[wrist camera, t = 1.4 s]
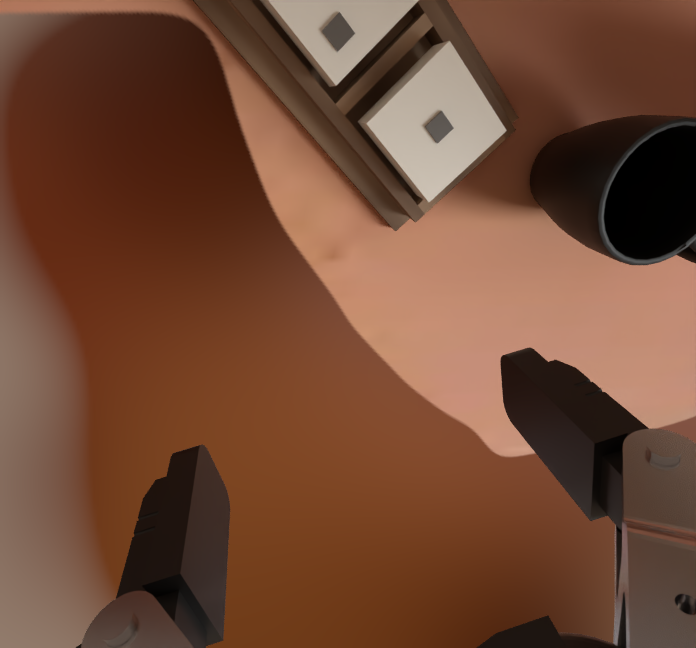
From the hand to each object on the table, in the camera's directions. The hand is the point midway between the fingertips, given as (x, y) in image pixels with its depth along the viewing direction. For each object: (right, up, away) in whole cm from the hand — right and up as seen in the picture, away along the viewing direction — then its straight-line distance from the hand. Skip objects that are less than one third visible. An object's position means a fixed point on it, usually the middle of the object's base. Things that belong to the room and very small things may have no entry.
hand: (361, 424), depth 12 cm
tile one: (+4, +15, +16) cm, 23 cm away
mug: (+17, +13, +23) cm, 32 cm away
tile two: (-1, +20, +13) cm, 24 cm away
